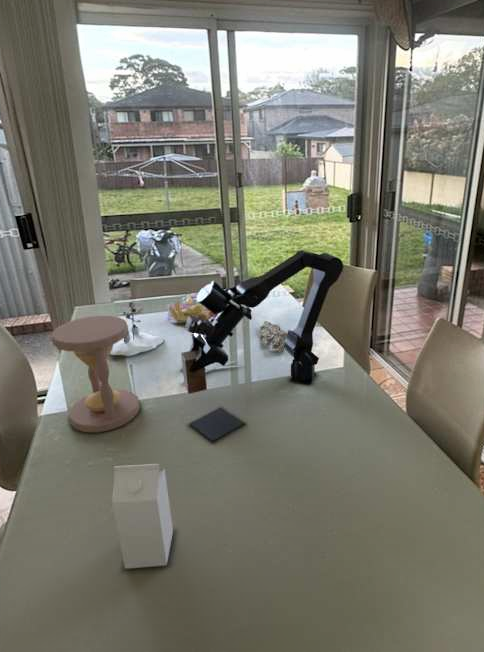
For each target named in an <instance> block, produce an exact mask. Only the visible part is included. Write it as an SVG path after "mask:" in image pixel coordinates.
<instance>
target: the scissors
mask: <svg viewBox="0 0 484 652" xmlns="http://www.w3.org/2000/svg"><path fill="white" fill-rule="evenodd" d="M236 362H237V360H233V361H229V362H227V363H226V364H225V365H224V366H223V365H221V364H219V365H216V366H206V367H205V374H206V373H210V372H212V371H215V370H223V369H230V368H231V369H232V368H238V367H240V365H233V366H232V365H231V364H234V363H236ZM229 365H230V366H229ZM181 367H182V370H183V366H181ZM182 384H183V385H184V381H182Z"/></svg>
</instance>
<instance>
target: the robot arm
mask: <svg viewBox="0 0 484 652" xmlns="http://www.w3.org/2000/svg"><path fill="white" fill-rule="evenodd" d="M306 268H311V269H312V274H313V275H312V276H313V277H312V278H313V282H312V285H311V288H310V291H309V294H308V297H307V299H306V302H305V304H304V307H303V310H302V312H301V315H300V318H299V320H298V324H297V326H295V328H294V329H293V330H291V329H288V330H287V332H286V333H287V337H286V339H285V340H284V342H285V349H284V350H285V351H286V352H287V353H288V354H289V355H290V357H292V358H293V360H292V361H291V364H290V382H294V383H298V384H299V383H300V384H306V385H311V384H312V383H313V381H314V380H315V378H316V376H317V373H316V372H315V371H316V365H318V362H319V359H320V358H319V356H317V355H316V354H315V353H313V346H314V340H313V339H314V338H313V337H314V336H313V335H314V334H313V333H314V330H315V328H316V324H317V322H318V319H319V316H320V314H321V311H322V308H323V306H324V303H325V301H326V298H327V296H328V293H329V290H330V288H331V287H332V286H333V285H334V284H335V283H337V281H339V278H340V276H341V274H342V273H343V272H344V271H343V270H344V263H343V261H342V260H341V258H340V257H337V256H335V255H333V254H330V253H328V252H322V253H320V254H319V253H315V252H310V251H306V250H304V249H299V250H297V252H295V254H293V255H292V256H290V257H288V258H287V259H285V260H284V261H282V262H281V263H278V265H276V266H274V267H272V268H271V269H269V270H268V271H267V272H265V273H263V274H261V275H259V276H255V277H254V276H253V277H250V278H248V279H245V280H243V281H241V282H239V283H238V284H237V285H236V286H232V287H229V288H226V289H224V288H223V287H221V286H220V284H219V283H217V282H216V281H215V280H212V281H211V283H208V284H206V285H205V286H203V287H202V288H201V289H200V291H199V292H198V293H197V302H199V303H200V304H201V305H203V306H204V307H206V308H207V309H208V310H210V311H211V312H212V313H214V314H215V313H219V314H218V315H217V316H216V318H214V317H211V318H210V319H209V320H205V319H203V318H199V317H195V316H189V318H188V321H187V323H186V324H185V328H186V329H187V332H189V333H191V341H192V342H191V346H190V349H189V351H193V350H198V349H199V352H200V354H199V356H198V357H197V359H196V360H195V362H194V363H193V365H192V366H191V368H190V370H189V371H190V372H192V373H193V372H195V371H197V370H200V369H202V368H204V367H209V366H210V365H213V364H215V363H217V364H219V365H223V366H222V367H225V366H226V365H225V364H226V363H229V355H228V353H227V352H226V351H225V349H223V348H224V344H223V343H224V342H225V341H226V339H227V338H228V337H230V338H231V337H232V336H234V333H233V331H234V329H236V327H237V325H238V324H240V323H241V321H242V320H243V319H244V318H245V317H246V318H247V319H248V320H250V321H251V320H253V317H252V309H253V308H255V307H258V306H259V305H260V304H262V303H263V301H265V300H266V299H267V298H268V296H269V294H270V293H271V292H272V290H274V289H275V288H277V287H279V286H280V285H281V284H283V283H284V282H286V281H287V280H289V279H291V278H292V277H294V276H295V275H296V274H298V273H300V272H301V271H303V270H304V269H306ZM244 306H245V307H244ZM224 365H225V366H224Z"/></svg>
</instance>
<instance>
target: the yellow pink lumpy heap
mask: <svg viewBox="0 0 484 652" xmlns="http://www.w3.org/2000/svg"><path fill="white" fill-rule="evenodd" d="M197 295H198V293H196V292H193V293H188V294H187V296H184V297H182V298H181V301H182V303H180V302H179V301H175V302H173V303H172V302H170V304H169V303H167V311H168V313H167V318H168V319H169V321H170V323H173V324H185V325H186V323H187V321H188V318H189V316H195V317H199V318H203V319H205V320H209V319H210V318H211V317H214V318H216V316H217V315H218V314H219V313H215V314H214V313H212V312H211V311H210V310H208V309H207V308H206V307H204V306H203V305H201V304H200V303H199V302H197Z"/></svg>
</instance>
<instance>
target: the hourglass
mask: <svg viewBox="0 0 484 652" xmlns="http://www.w3.org/2000/svg"><path fill="white" fill-rule="evenodd" d="M128 331H129V326H128V323H127V321H126V320H125V319H123V318H122V317H119V316H114V315H93V316H85V317H81V318H76V319H73V320H70V321H67V322H65V323H63V324H61V325H59V326H57V327H56V328H55V329H54V330H53V331H52V332H51V343H52V345H53V346H54V347H55V348H57V349H58V350H61V351H66V352H73V354H74V355H75V357H77V358H78V359H79V360H80V361H81V362H83V364H85V365H86V366H87V367H88V368H87V376H88V379H89V382H90V384H91V389H92V393H90V394H88V395H86V396H84V397H82V398H81V399H79V400H77V401H76V402H75V403H74V404H73V405H72V407H71V408H70V410H69V412H68V420H69V423H70V425H71V426H72V428H74V429H75V430H78V431H79V432H83V433H93V434H95V433H97V434H98V433H103V432H109V431H111V430H115V429H117V428H120V427H122V426H124V425H125V424H127V423H129V422H131V420H133V419H134V418H135V417H136V416H137V415H138V412H139V410H140V407H141V405H140V400H139V397H138V395H136V394H135V393H134V392H132V391H130V390H126V389H118V388H117V389H116V388H112V387H111V385H110V383H109V377H110V368H109V364H108V361H107V360H108V359H109V357H110V355H111V354H110V353H111V351H112V349H113V344H115V343H117V342H119V341H120V340H122V339H123V338H124V337H125V336H126V335H127V333H128Z"/></svg>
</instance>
